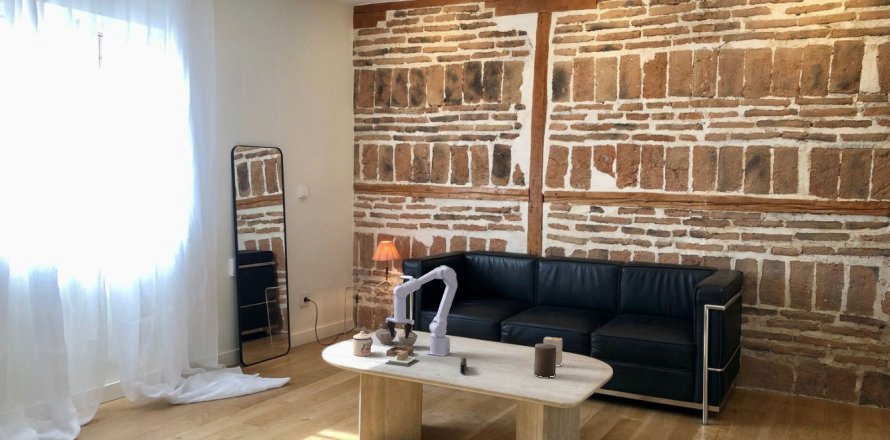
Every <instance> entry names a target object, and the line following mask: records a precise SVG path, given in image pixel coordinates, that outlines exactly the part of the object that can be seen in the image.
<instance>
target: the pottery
mask: <svg viewBox="0 0 890 440" xmlns="http://www.w3.org/2000/svg"><path fill="white" fill-rule="evenodd" d="M387 323H388V322H386V321H384V322H381V323H379V327H380V328H378V329H377V330H375V332H374V333H375V337H376V338H377V339H378V341H379V342H380V345H383V346H384V345H385V346H386V345H387V346H388V345H392V343H393V342H392V341H394V339H396V336H397V330H396V329H395V335H394V337H391V333H390V330H389V328H388V326H387ZM404 325H406V324H402V326H403V331H402V332H401V333H399V334H398V340H399V342H400V345H402V346H401V347H409V348H413V349H414V345H415V344H416V341H417V338H418V334H417V333H415V331H414V332H413V326H414V325H413V326H412V328H411V330H410V333H409V337H408V338H407V339H405V327H404Z"/></svg>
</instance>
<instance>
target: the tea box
mask: <svg viewBox="0 0 890 440" xmlns="http://www.w3.org/2000/svg"><path fill="white" fill-rule="evenodd" d="M402 351H408V356H409V357H411V354H412V355H413V354H414V347H413V348H409V347H402V346H399V345H394V346H392V347H391V348H389V349H387V350H386V357H391V358H393V357H395V356H397V354H398V353H400V352H402Z"/></svg>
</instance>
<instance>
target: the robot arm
mask: <svg viewBox="0 0 890 440" xmlns="http://www.w3.org/2000/svg"><path fill="white" fill-rule="evenodd" d="M434 279H437V280H442V281H443V283H444V284H445V286H446V287H445V289H444V293H443V295H442V298H441V301H440V304H439V306H438V307H439V308H438V311H437V313H436V315H435V316H434V318H433V320H432V321H431V323H429V326H428V327H429V328H428V329H429V331H430V340H429V341H430V343H429V344H430V346H429V347H430V349H429V350H430V351H429V352H427V355H431V356H441V357H446V356H447V355H449V354H450V353H451V338H450V337H448V336H446V334H447V326H448V322H447V319H448V316H449V312H450V309H451V306H452V303H453V300H454V298H455V294H456V292H457V288H458V280H457V273H456V272H455V270H454V269H453V268H452V267H449V266H447V265H440V266H439V267H438V266H437V267H435V268H434V269H433V270H431V271H429V272H428V273H426V274H424V275H422V276H420V277H419V278H418V279H417V278H409V280H408V281H406V282H403V283H401V284H400V285H396V286H395V287H394V288H393V291H392V294H393V295H394V299H393V300H394V301H393V307H394V308H393V315H394V316H393V317H385V322H388V323H387V326H388V328H389V330H390V333H391V337H394V335H395V330H396V329H395V327H396V324H402V325H404V324H406V325H404V327H405V339H407V338H408V337H409V333H410V330H411V328H412V329H413V327H412V326H414V325H415V320H414V319H409V318H407V316H406V315H407V306H406V305H407V301H406V300H407V299H406V298H407V297H408V295H410V294H411V293H413V292H415V291H418V290H419V289H420V288H421V286H423V284H427V282H430V281H432V280H434ZM404 327H403V328H404Z"/></svg>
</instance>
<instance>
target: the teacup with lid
mask: <svg viewBox="0 0 890 440" xmlns="http://www.w3.org/2000/svg"><path fill="white" fill-rule="evenodd" d="M352 340H353V344H352V345H353V349H352V351H353V352H352V354H353V355H354V356H355V357H368V356H370V355H371V354H372V346H373V343H374V340H373V338H372V336H371V335H370V334H367V333H366V332H365V331H364V330H360V332H359V333H357V334H354V335H353V336H352Z"/></svg>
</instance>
